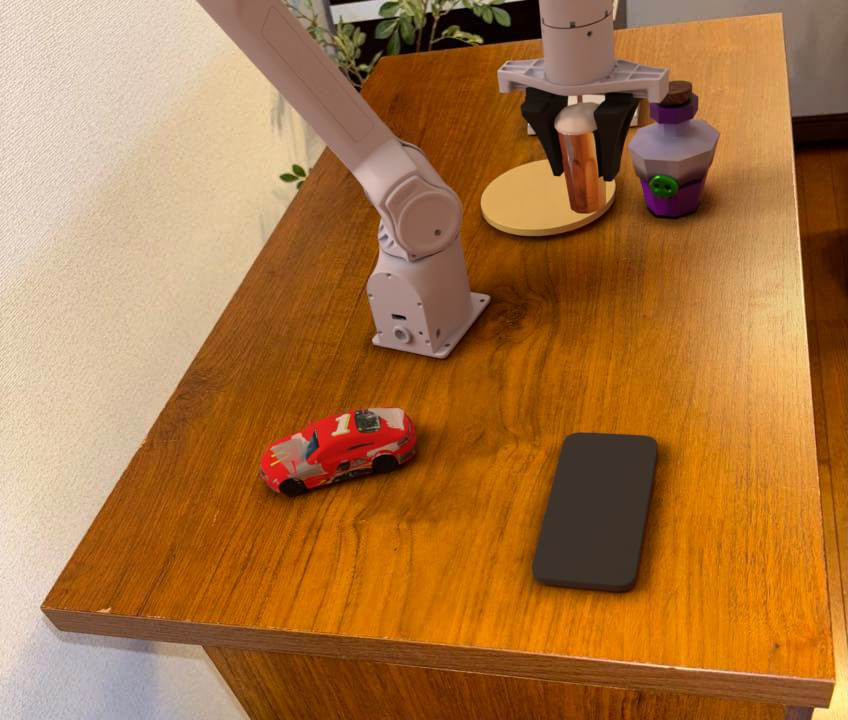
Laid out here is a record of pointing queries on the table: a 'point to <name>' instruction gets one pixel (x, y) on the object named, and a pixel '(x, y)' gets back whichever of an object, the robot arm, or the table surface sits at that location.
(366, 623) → the table surface
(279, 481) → the race car
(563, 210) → the plate
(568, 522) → the phone
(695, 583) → the table surface
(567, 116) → the milkshake
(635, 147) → the potion bottle
